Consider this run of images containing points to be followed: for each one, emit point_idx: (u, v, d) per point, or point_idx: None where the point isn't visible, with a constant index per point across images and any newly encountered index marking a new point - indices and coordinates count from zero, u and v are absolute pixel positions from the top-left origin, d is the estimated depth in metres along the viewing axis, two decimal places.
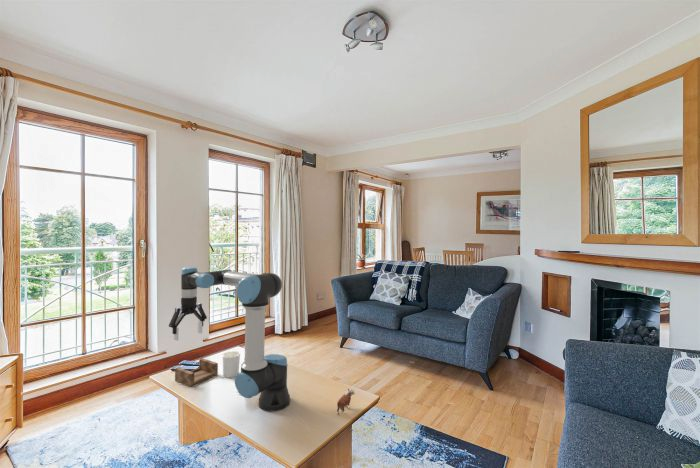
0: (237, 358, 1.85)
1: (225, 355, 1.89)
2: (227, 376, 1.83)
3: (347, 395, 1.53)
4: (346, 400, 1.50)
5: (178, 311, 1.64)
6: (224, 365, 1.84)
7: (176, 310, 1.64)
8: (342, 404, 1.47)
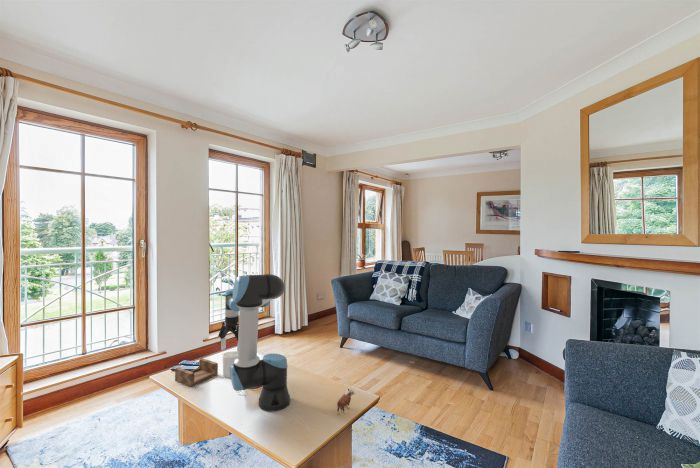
0: None
1: (225, 355, 1.89)
2: (227, 376, 1.83)
3: (347, 395, 1.53)
4: (346, 400, 1.50)
5: (222, 325, 1.89)
6: (224, 365, 1.84)
7: None
8: (342, 404, 1.47)
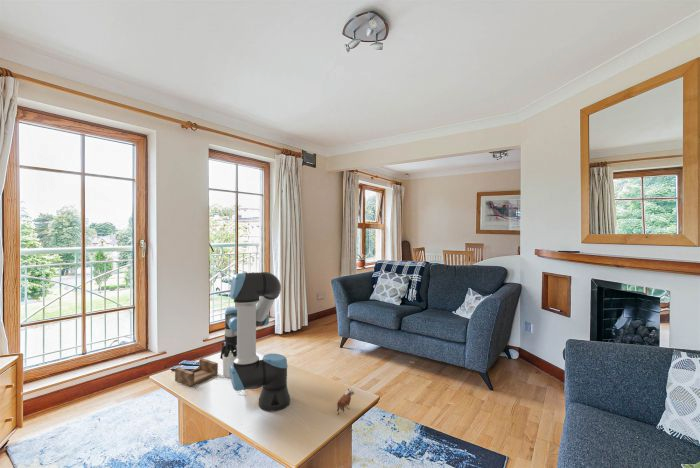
0: None
1: None
2: (227, 376, 1.83)
3: (347, 395, 1.53)
4: (346, 400, 1.50)
5: (222, 345, 1.89)
6: (224, 365, 1.84)
7: None
8: (342, 404, 1.47)
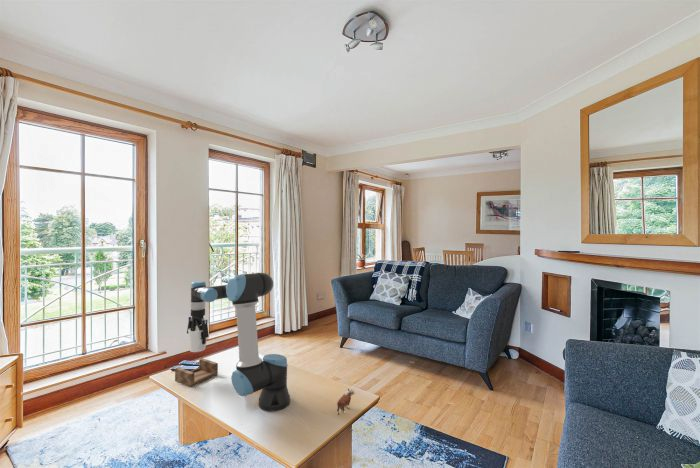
0: None
1: None
2: (193, 350, 1.78)
3: (347, 395, 1.53)
4: (346, 400, 1.50)
5: (189, 320, 1.84)
6: (190, 339, 1.79)
7: None
8: (342, 404, 1.47)
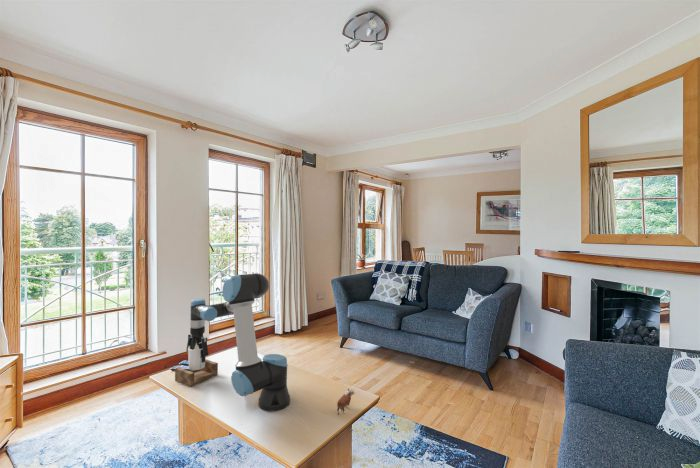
0: None
1: None
2: (192, 369, 1.78)
3: (347, 395, 1.53)
4: (346, 400, 1.50)
5: (188, 337, 1.84)
6: (189, 357, 1.79)
7: None
8: (342, 404, 1.47)
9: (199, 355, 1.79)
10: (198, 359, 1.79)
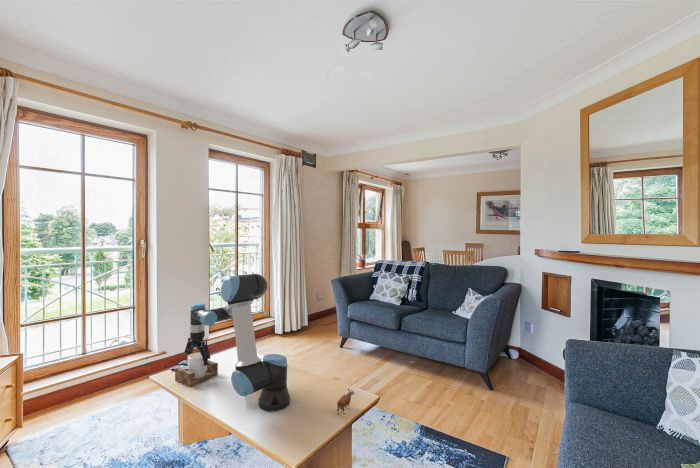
0: None
1: (191, 356, 1.84)
2: None
3: (347, 395, 1.53)
4: (346, 400, 1.50)
5: (188, 340, 1.84)
6: (189, 366, 1.78)
7: None
8: (342, 404, 1.47)
9: (199, 364, 1.79)
10: (198, 368, 1.78)
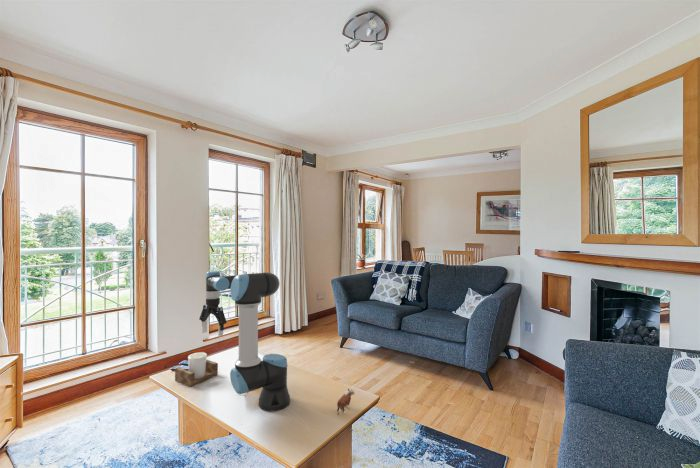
0: (203, 359, 1.80)
1: (191, 356, 1.84)
2: None
3: (347, 395, 1.53)
4: (346, 400, 1.50)
5: (203, 308, 1.88)
6: (189, 366, 1.78)
7: None
8: (342, 404, 1.47)
9: (199, 364, 1.79)
10: (198, 368, 1.78)
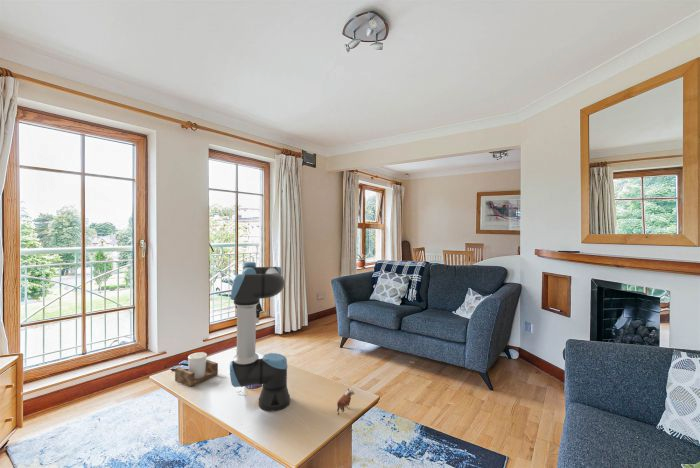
0: (203, 359, 1.80)
1: (191, 356, 1.84)
2: None
3: (347, 395, 1.53)
4: (346, 400, 1.50)
5: None
6: (189, 366, 1.78)
7: None
8: (342, 404, 1.47)
9: (199, 364, 1.79)
10: (198, 368, 1.78)
